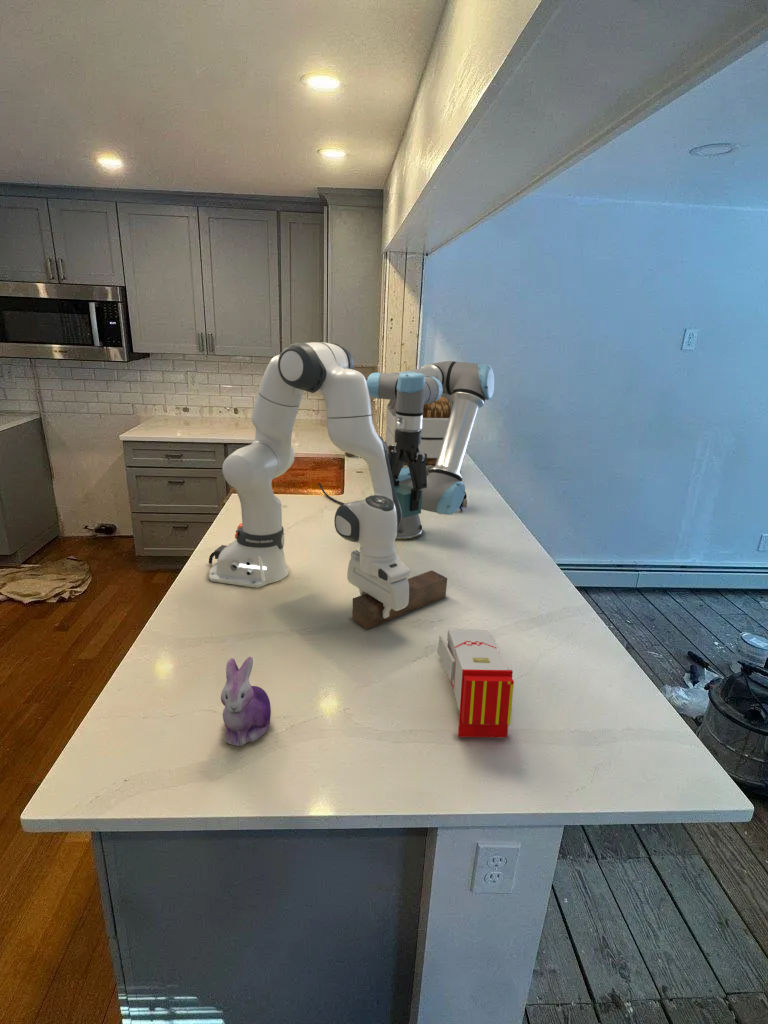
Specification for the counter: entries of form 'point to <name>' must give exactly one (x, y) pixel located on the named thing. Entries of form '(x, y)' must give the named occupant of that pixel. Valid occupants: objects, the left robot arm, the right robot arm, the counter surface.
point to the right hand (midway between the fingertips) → (403, 505)
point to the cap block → (406, 500)
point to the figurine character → (464, 502)
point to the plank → (420, 594)
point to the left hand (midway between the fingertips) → (375, 610)
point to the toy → (478, 682)
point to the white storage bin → (424, 426)
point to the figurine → (244, 705)
